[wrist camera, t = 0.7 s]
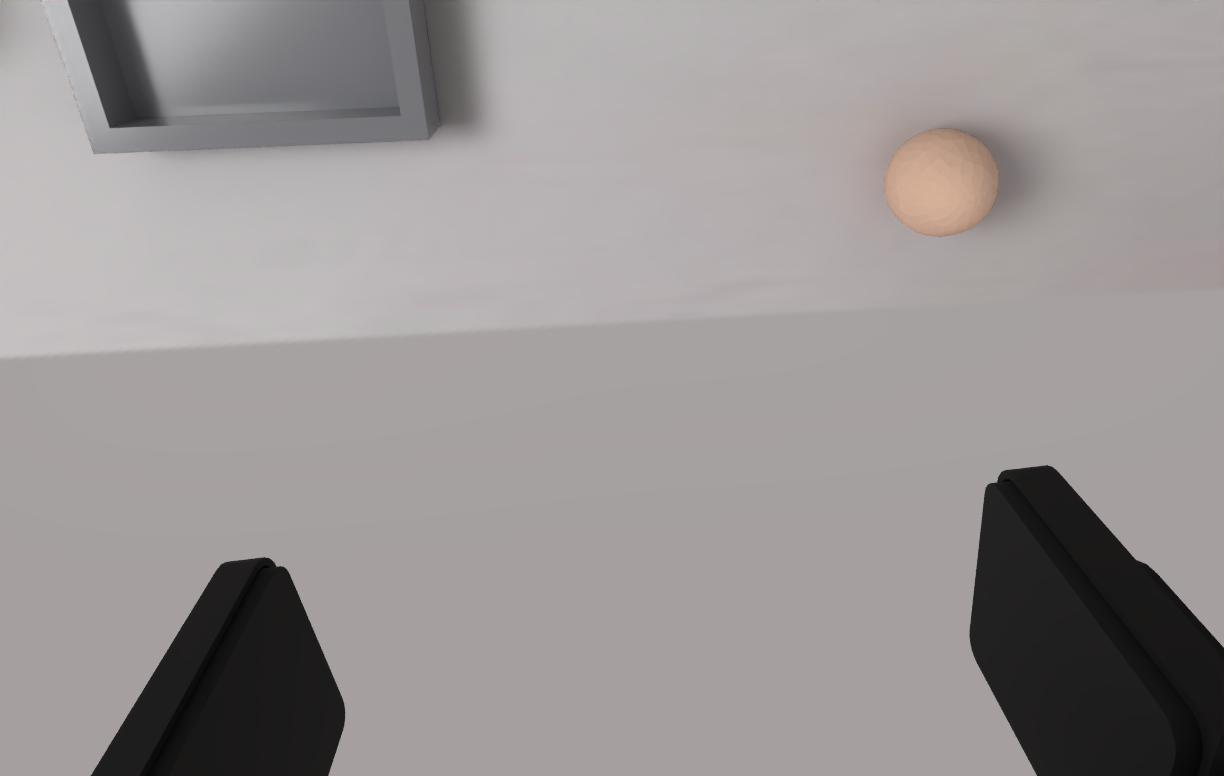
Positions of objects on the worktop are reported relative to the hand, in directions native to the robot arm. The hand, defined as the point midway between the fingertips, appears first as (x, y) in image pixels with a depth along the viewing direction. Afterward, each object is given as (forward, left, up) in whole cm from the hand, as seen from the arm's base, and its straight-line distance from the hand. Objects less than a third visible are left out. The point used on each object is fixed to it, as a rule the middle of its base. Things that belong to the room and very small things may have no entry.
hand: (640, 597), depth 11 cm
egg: (-7, +13, -29) cm, 33 cm away
